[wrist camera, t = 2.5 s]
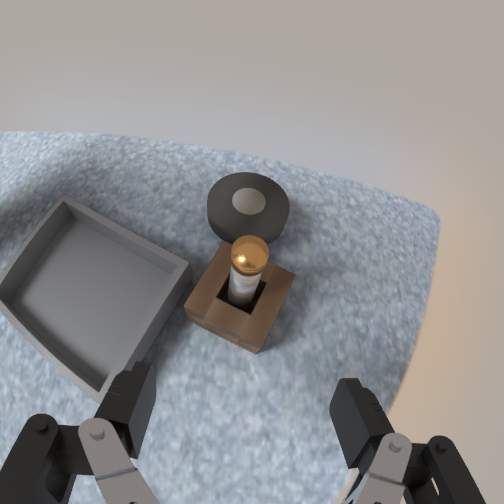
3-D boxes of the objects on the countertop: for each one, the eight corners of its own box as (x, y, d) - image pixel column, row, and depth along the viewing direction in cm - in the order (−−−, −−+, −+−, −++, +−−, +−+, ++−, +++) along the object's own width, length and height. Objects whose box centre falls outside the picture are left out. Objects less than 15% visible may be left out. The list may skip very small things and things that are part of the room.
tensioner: (153, 300, 27) (142, 280, 23) (229, 189, 34) (231, 161, 30) (255, 354, 25) (263, 344, 21) (313, 227, 33) (326, 202, 29)
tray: (5, 307, 23) (-12, 295, 20) (74, 212, 30) (63, 193, 27) (116, 406, 21) (102, 406, 18) (192, 279, 28) (189, 262, 25)
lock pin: (221, 308, 27) (224, 257, 18) (232, 288, 28) (242, 229, 19) (244, 320, 26) (259, 274, 18) (255, 299, 27) (275, 245, 19)
